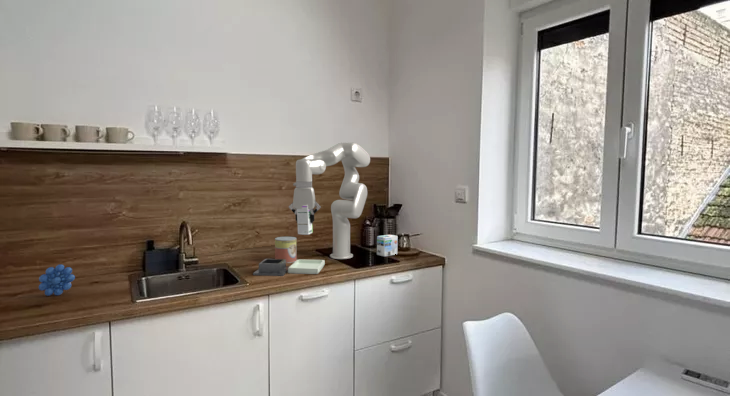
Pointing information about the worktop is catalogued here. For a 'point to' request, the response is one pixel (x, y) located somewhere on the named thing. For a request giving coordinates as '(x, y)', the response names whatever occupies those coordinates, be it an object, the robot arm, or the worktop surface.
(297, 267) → the tray
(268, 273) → the sleeve holder
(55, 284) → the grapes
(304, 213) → the syrup box
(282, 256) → the canned food
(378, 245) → the light bulb box
